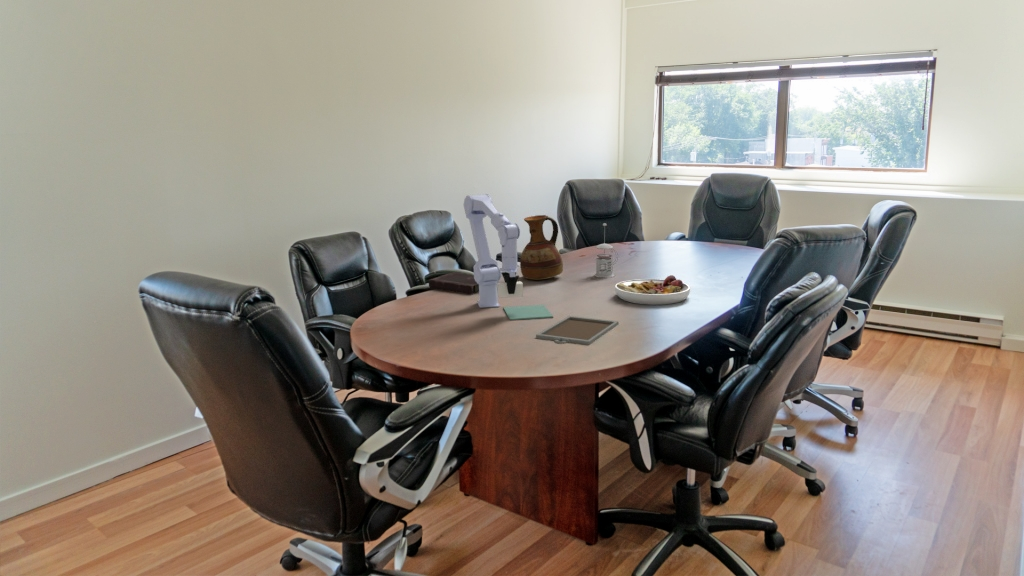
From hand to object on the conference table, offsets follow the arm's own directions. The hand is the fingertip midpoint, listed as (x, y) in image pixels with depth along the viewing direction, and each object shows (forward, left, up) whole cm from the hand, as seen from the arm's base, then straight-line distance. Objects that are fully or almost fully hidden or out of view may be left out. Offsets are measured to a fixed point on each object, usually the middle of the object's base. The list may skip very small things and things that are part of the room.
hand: (510, 292), depth 258 cm
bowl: (-13, +60, -9) cm, 63 cm away
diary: (-52, -14, -9) cm, 54 cm away
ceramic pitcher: (-63, +24, -9) cm, 68 cm away
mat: (0, +6, -8) cm, 11 cm away
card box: (0, 0, -2) cm, 2 cm away
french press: (-62, +55, -9) cm, 84 cm away
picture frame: (+29, +18, -9) cm, 35 cm away
